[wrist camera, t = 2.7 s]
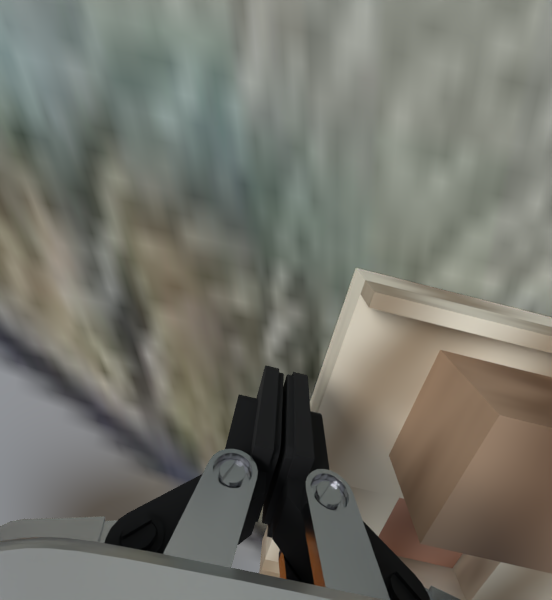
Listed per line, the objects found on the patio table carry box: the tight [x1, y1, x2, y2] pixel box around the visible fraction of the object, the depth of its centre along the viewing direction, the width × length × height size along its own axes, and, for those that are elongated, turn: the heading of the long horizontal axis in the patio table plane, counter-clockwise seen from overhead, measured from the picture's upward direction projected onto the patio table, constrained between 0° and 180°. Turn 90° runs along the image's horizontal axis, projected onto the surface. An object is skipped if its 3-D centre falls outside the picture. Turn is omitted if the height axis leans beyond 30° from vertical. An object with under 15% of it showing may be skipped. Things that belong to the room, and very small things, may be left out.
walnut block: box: [389, 350, 552, 574], centre depth 12 cm, size 6×6×4 cm
